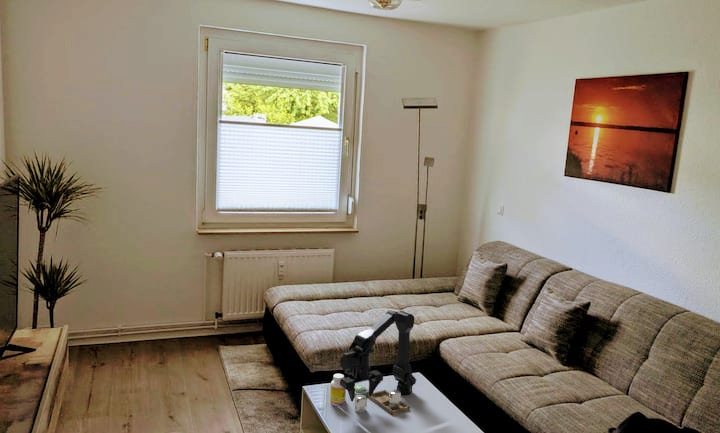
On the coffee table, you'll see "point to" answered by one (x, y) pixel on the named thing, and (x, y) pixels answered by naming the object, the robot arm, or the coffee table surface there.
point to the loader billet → (394, 399)
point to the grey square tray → (362, 392)
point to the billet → (360, 403)
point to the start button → (359, 389)
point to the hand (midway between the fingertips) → (361, 398)
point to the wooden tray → (387, 402)
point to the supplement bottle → (337, 390)
